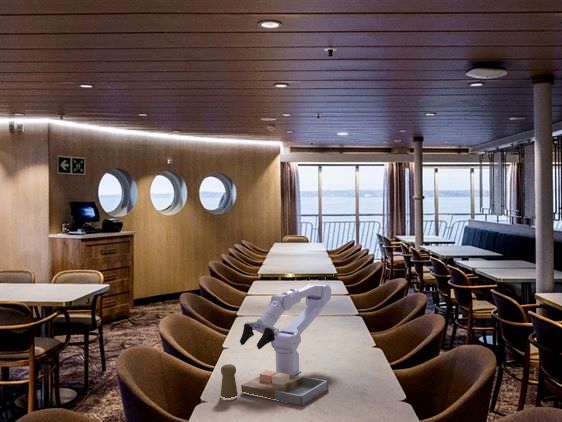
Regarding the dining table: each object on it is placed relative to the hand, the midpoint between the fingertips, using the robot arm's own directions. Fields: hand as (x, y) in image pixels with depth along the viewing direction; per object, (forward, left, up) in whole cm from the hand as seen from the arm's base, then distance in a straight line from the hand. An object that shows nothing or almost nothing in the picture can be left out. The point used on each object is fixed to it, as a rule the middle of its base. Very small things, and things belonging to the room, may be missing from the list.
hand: (249, 345), depth 197 cm
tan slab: (-3, +7, -16) cm, 17 cm away
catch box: (-3, +19, -16) cm, 25 cm away
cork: (+11, -1, -16) cm, 19 cm away
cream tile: (-3, +11, -13) cm, 17 cm away
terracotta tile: (-3, +5, -13) cm, 14 cm away
